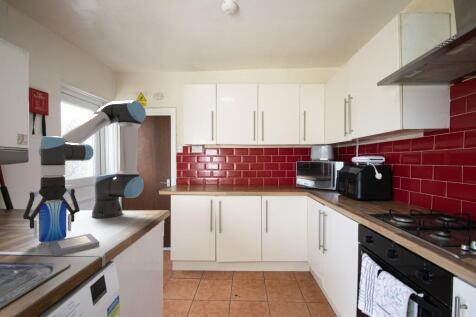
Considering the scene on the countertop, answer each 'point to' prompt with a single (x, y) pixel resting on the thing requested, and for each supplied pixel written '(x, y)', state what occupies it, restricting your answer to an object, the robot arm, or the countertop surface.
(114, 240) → the countertop surface
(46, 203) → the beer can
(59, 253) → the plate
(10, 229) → the countertop surface
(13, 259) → the countertop surface
